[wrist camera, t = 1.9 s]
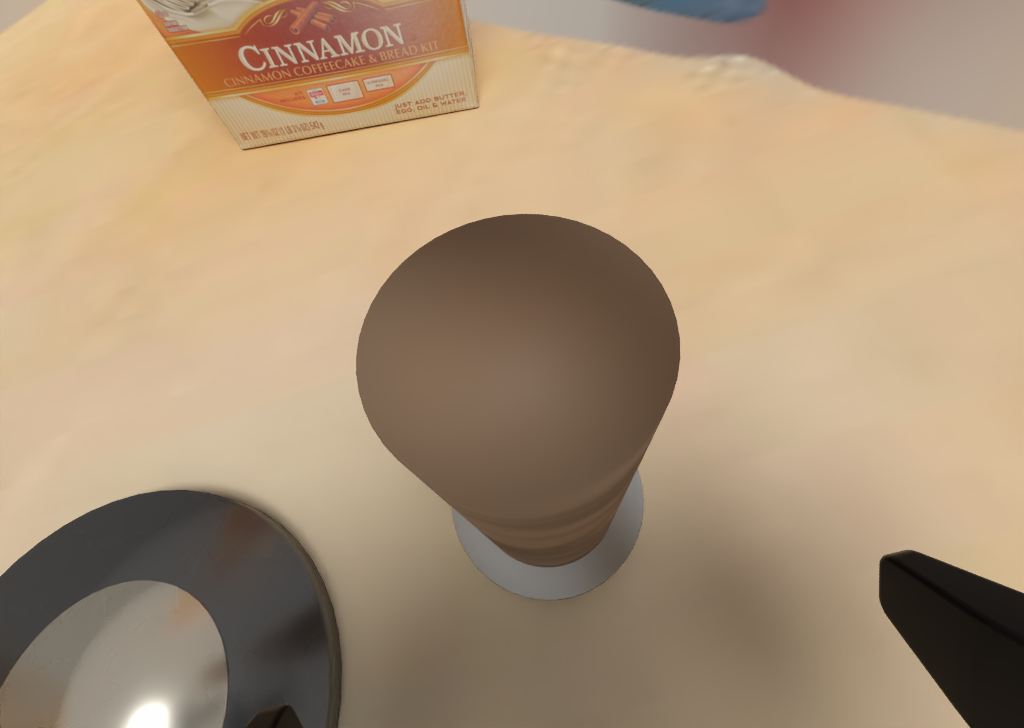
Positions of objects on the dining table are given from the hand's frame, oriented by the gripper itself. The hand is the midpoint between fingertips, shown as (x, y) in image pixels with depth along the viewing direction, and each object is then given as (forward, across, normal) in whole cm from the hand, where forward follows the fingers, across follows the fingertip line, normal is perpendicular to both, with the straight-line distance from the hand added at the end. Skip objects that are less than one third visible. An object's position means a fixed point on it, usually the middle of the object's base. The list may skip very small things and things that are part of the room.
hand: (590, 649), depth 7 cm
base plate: (+8, +16, +7) cm, 19 cm away
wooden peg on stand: (+11, 0, +5) cm, 12 cm away
